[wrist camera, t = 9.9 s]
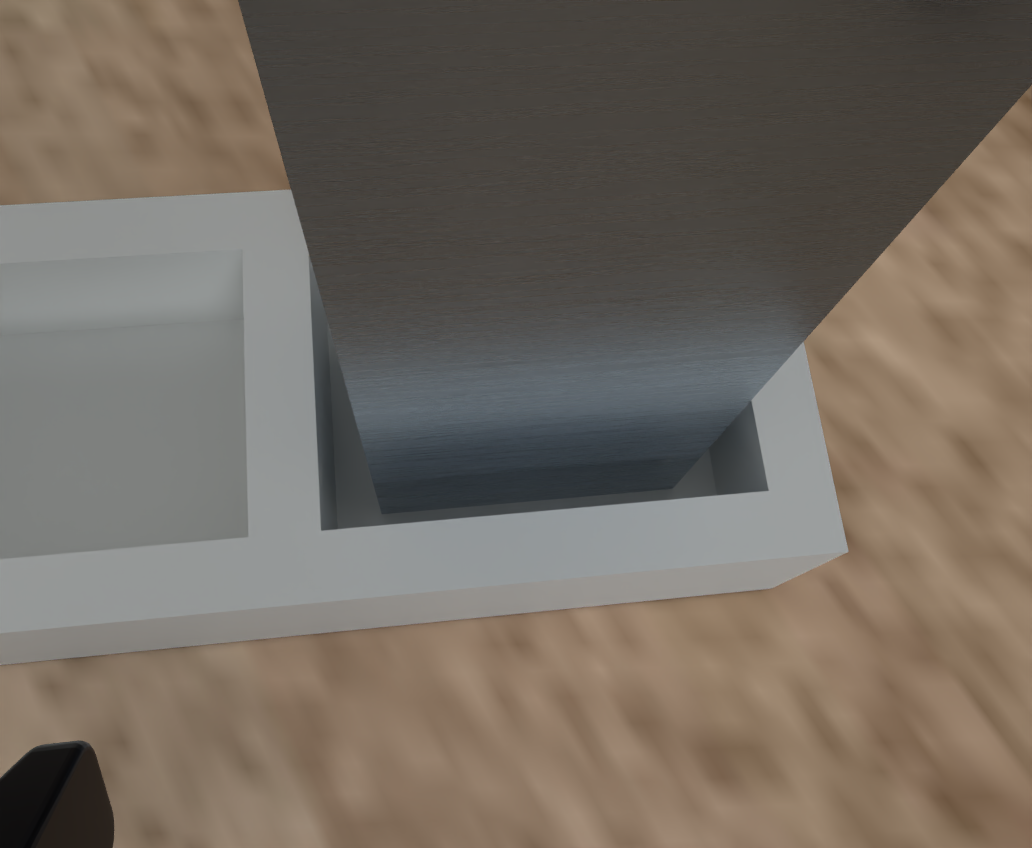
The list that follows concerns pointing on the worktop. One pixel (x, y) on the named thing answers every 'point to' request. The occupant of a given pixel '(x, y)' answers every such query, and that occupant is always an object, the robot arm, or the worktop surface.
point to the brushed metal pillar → (603, 210)
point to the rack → (302, 459)
